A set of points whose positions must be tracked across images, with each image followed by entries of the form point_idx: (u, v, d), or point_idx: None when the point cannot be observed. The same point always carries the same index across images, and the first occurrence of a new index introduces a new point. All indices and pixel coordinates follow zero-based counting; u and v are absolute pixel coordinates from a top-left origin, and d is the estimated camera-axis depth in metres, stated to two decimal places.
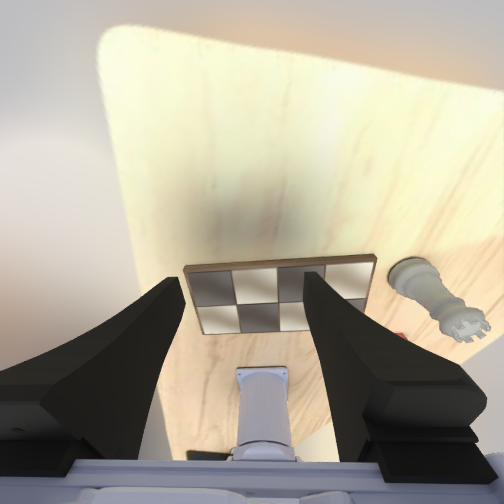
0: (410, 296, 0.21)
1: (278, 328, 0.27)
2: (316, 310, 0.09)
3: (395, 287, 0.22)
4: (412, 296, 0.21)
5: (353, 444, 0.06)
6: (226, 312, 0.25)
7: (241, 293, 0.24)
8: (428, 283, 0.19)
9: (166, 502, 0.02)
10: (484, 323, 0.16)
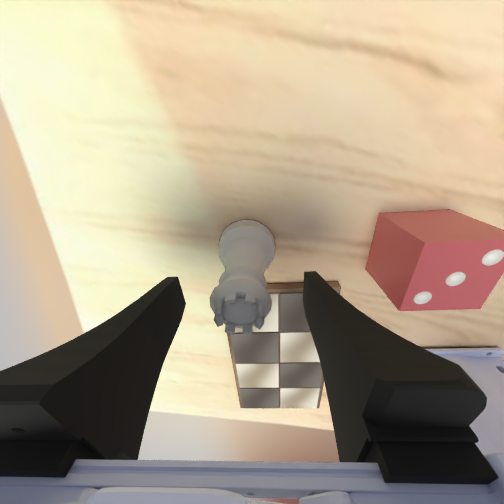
0: None
1: (319, 363, 0.23)
2: (316, 310, 0.09)
3: None
4: None
5: (353, 444, 0.06)
6: (288, 394, 0.26)
7: (265, 384, 0.25)
8: None
9: (166, 502, 0.02)
10: (218, 310, 0.10)
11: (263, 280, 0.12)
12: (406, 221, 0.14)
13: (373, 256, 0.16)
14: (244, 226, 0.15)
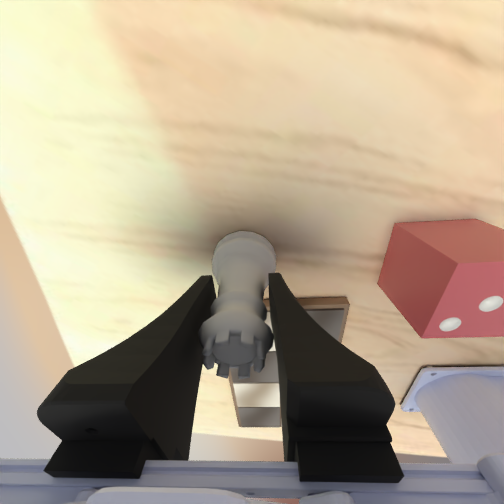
0: None
1: None
2: (273, 311, 0.09)
3: None
4: None
5: (286, 444, 0.06)
6: None
7: (265, 404, 0.23)
8: None
9: (166, 502, 0.02)
10: (207, 352, 0.08)
11: (263, 307, 0.10)
12: (429, 233, 0.12)
13: (388, 271, 0.14)
14: (241, 239, 0.13)
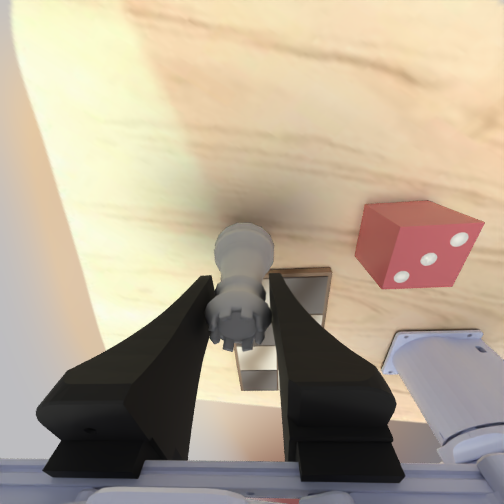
0: None
1: None
2: (273, 311, 0.09)
3: None
4: None
5: (286, 444, 0.06)
6: None
7: (264, 366, 0.27)
8: None
9: (166, 502, 0.02)
10: (213, 327, 0.09)
11: (262, 289, 0.11)
12: (388, 210, 0.16)
13: (361, 243, 0.18)
14: (239, 230, 0.14)
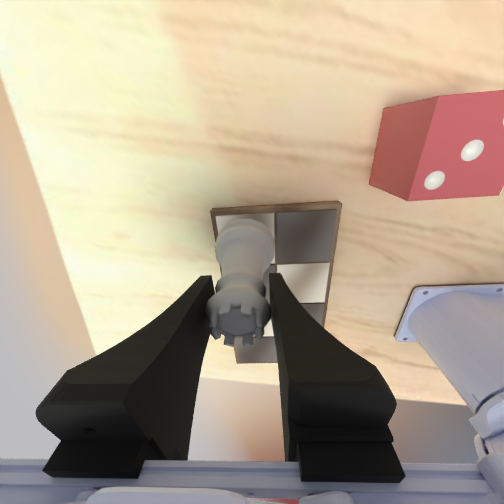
0: None
1: (319, 304, 0.21)
2: (274, 311, 0.09)
3: None
4: None
5: (287, 444, 0.06)
6: None
7: None
8: None
9: (166, 502, 0.02)
10: (213, 323, 0.09)
11: (261, 285, 0.11)
12: None
13: (378, 162, 0.15)
14: (239, 226, 0.14)
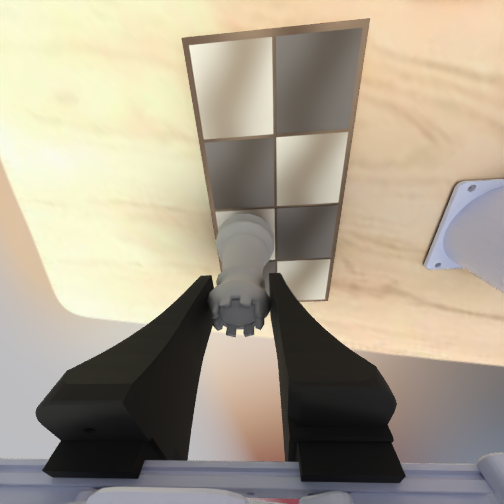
0: None
1: (331, 206, 0.16)
2: (274, 311, 0.09)
3: None
4: None
5: (287, 444, 0.06)
6: (288, 272, 0.20)
7: None
8: None
9: (166, 502, 0.02)
10: (215, 315, 0.10)
11: (261, 277, 0.11)
12: None
13: None
14: (238, 221, 0.14)
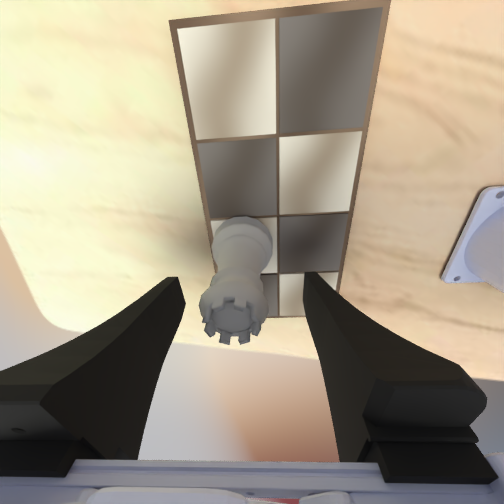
0: None
1: (340, 214, 0.15)
2: (316, 310, 0.09)
3: None
4: None
5: (353, 444, 0.06)
6: (292, 286, 0.18)
7: None
8: None
9: (166, 502, 0.02)
10: (207, 319, 0.09)
11: (258, 280, 0.10)
12: None
13: None
14: (235, 223, 0.13)
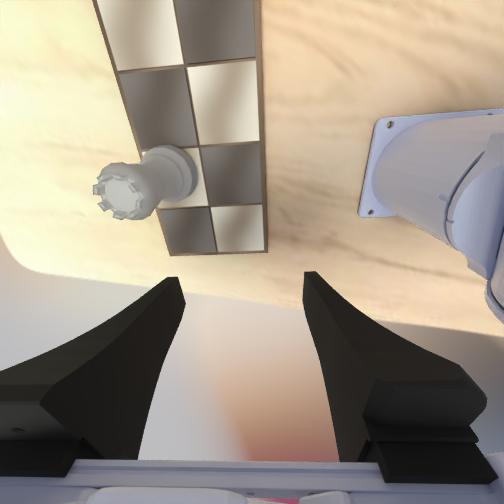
0: (175, 193, 0.16)
1: (253, 144, 0.17)
2: (316, 310, 0.09)
3: (183, 198, 0.17)
4: (171, 195, 0.16)
5: (353, 444, 0.06)
6: (223, 220, 0.20)
7: (189, 199, 0.19)
8: None
9: (166, 502, 0.02)
10: (96, 191, 0.11)
11: (155, 177, 0.13)
12: None
13: None
14: (155, 147, 0.16)
